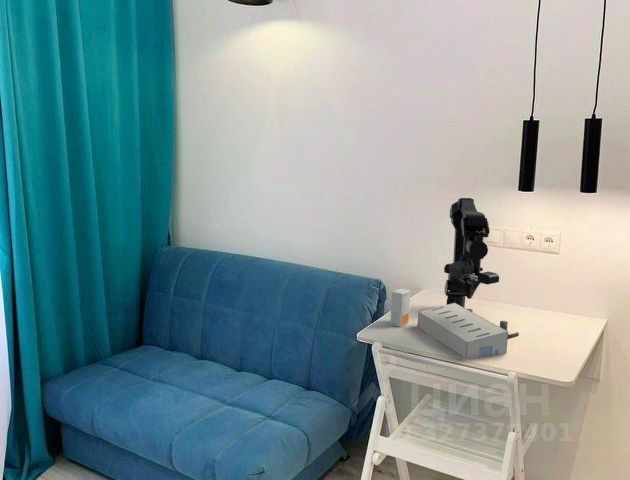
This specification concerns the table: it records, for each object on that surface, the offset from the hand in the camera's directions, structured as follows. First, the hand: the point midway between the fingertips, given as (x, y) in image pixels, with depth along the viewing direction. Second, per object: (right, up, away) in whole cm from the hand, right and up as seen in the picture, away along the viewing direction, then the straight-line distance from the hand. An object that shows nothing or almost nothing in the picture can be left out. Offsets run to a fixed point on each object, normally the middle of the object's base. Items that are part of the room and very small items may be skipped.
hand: (469, 298), depth 198 cm
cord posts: (+8, -11, +10) cm, 17 cm away
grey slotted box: (-4, -14, -1) cm, 14 cm away
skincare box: (-21, -10, +12) cm, 27 cm away
